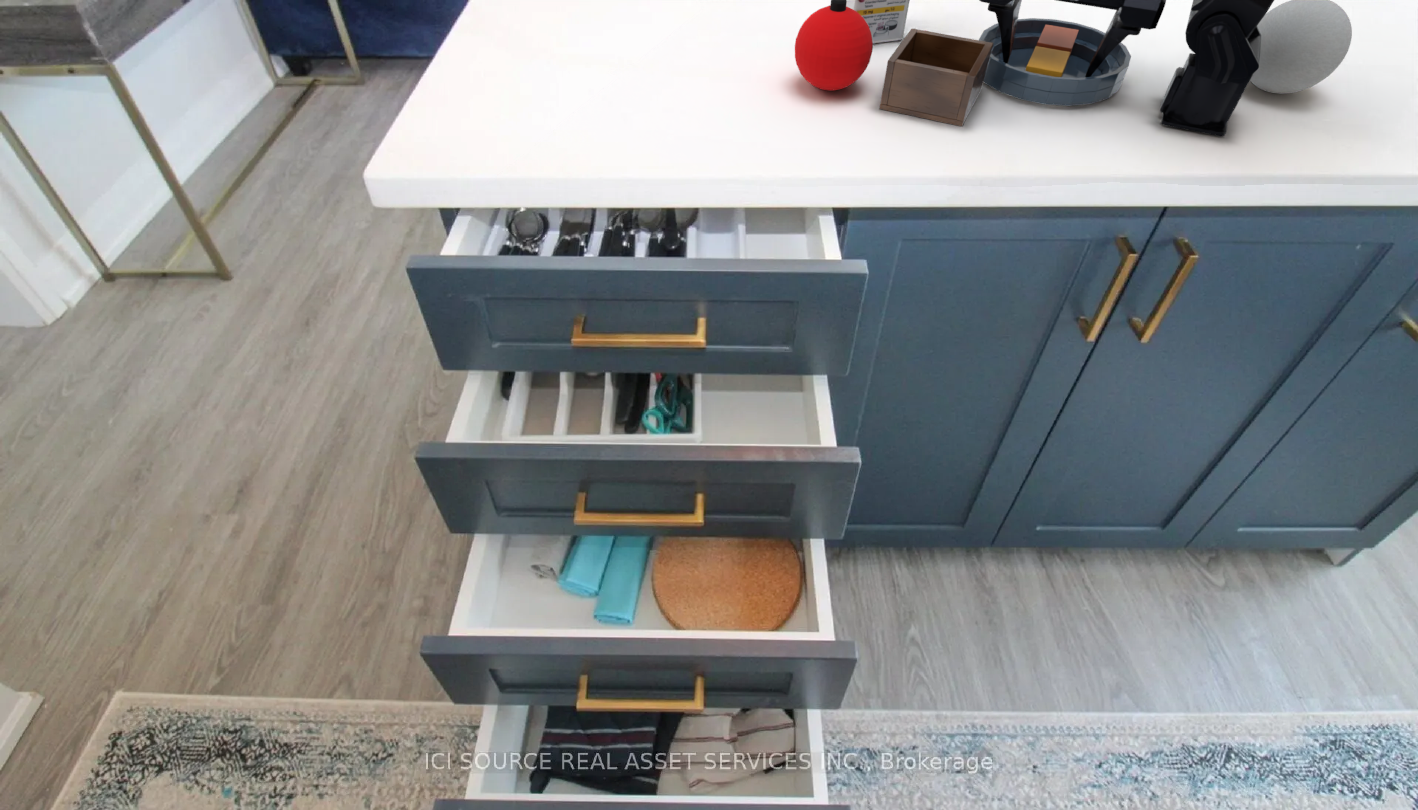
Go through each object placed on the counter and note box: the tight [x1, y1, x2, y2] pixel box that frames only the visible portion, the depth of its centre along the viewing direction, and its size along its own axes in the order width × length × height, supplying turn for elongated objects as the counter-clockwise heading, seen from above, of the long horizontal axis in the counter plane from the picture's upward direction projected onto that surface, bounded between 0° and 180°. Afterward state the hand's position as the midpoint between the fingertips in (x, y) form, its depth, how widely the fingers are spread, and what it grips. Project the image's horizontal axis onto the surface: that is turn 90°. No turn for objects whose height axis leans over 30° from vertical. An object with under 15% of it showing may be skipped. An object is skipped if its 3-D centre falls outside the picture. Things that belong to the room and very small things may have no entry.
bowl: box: [978, 17, 1132, 107], centre depth 91 cm, size 17×17×4 cm
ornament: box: [794, 0, 874, 92], centre depth 87 cm, size 9×9×10 cm
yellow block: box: [1025, 46, 1070, 77], centre depth 89 cm, size 4×6×3 cm, turn 154°
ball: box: [1249, 0, 1353, 95], centre depth 86 cm, size 10×10×10 cm
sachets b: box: [1036, 25, 1079, 70], centre depth 93 cm, size 4×6×3 cm, turn 154°
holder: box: [879, 28, 993, 127], centre depth 86 cm, size 10×10×6 cm
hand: (1045, 71), depth 89 cm, fingers open, 9 cm apart
